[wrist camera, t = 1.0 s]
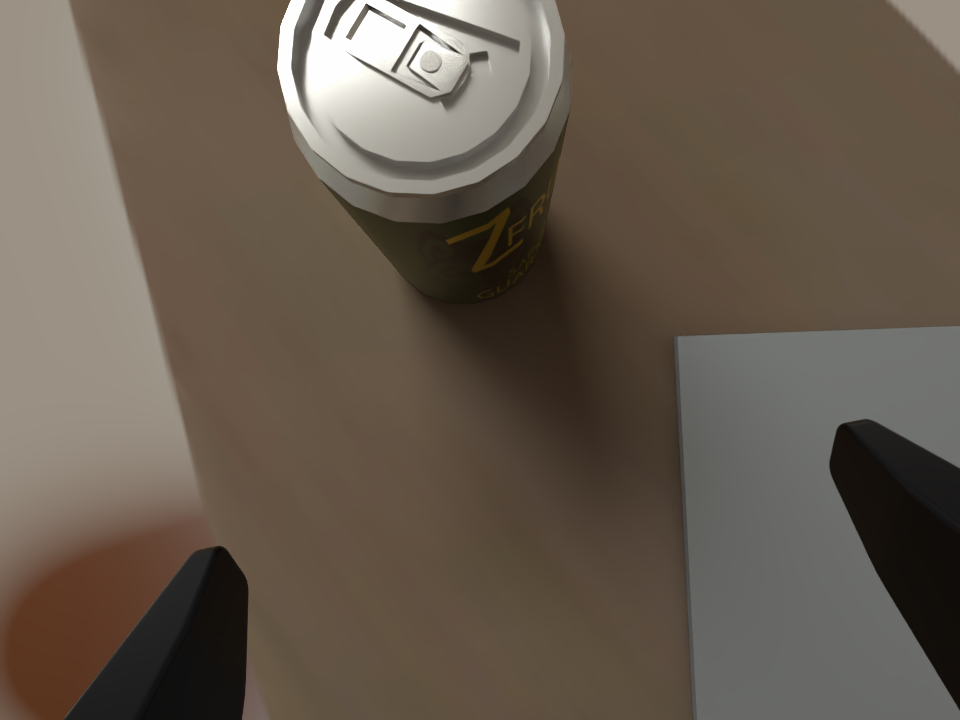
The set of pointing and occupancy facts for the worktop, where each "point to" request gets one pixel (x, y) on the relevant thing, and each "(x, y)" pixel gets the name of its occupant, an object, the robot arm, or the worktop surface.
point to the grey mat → (801, 521)
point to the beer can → (434, 128)
